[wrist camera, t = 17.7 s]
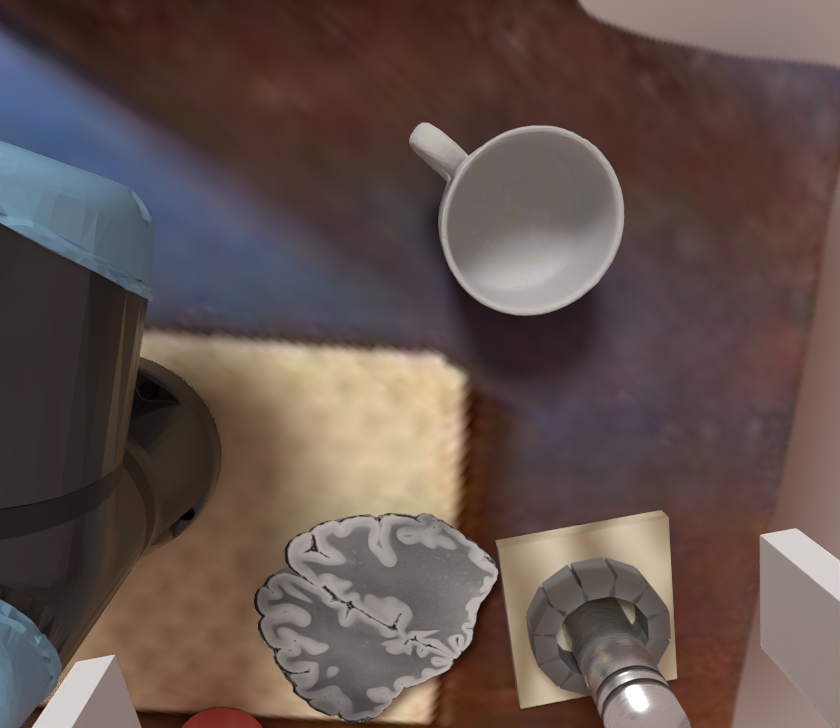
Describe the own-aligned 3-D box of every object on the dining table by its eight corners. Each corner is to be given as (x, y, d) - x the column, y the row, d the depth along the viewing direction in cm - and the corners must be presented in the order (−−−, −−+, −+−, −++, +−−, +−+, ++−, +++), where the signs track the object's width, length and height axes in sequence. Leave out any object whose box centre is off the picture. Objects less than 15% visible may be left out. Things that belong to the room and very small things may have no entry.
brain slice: (348, 446, 45) (346, 462, 42) (519, 551, 48) (528, 572, 45) (216, 629, 48) (206, 656, 45) (386, 716, 51) (386, 746, 48)
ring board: (517, 697, 51) (528, 733, 48) (495, 540, 47) (504, 567, 44) (670, 668, 52) (691, 701, 48) (661, 510, 48) (684, 534, 44)
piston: (565, 649, 49) (616, 773, 38) (557, 598, 47) (608, 713, 37) (625, 636, 49) (693, 756, 38) (619, 585, 48) (688, 695, 37)
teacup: (608, 228, 42) (662, 231, 34) (494, 328, 43) (520, 353, 35) (486, 68, 38) (513, 31, 31) (366, 181, 40) (363, 173, 32)
